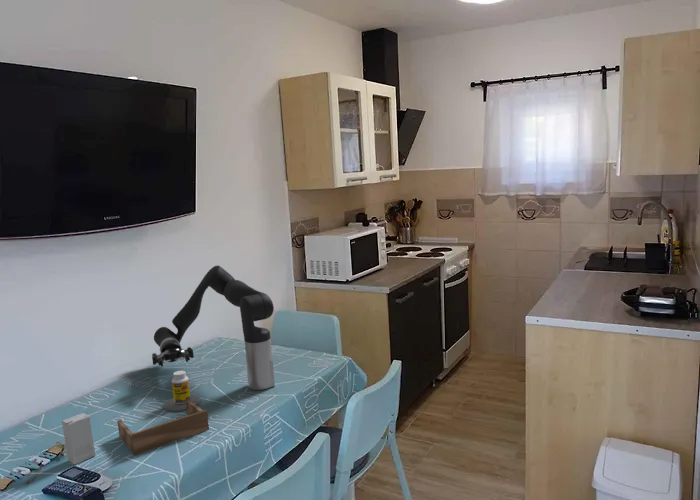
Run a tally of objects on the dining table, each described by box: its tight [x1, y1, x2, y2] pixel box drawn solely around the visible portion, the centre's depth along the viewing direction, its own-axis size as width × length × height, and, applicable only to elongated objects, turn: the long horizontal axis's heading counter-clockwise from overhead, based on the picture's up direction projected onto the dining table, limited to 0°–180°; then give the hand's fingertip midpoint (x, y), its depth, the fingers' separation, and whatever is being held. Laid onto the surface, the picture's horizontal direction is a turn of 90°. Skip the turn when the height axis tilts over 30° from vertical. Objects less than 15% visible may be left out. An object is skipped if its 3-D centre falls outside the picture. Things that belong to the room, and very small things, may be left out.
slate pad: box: [163, 394, 201, 413], centre depth 188 cm, size 12×12×1 cm
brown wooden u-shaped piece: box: [116, 399, 210, 456], centre depth 167 cm, size 15×22×6 cm
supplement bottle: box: [171, 370, 191, 404], centre depth 187 cm, size 6×6×10 cm
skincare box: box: [61, 412, 96, 465], centre depth 154 cm, size 6×4×12 cm
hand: (174, 361), depth 196 cm, fingers open, 8 cm apart
